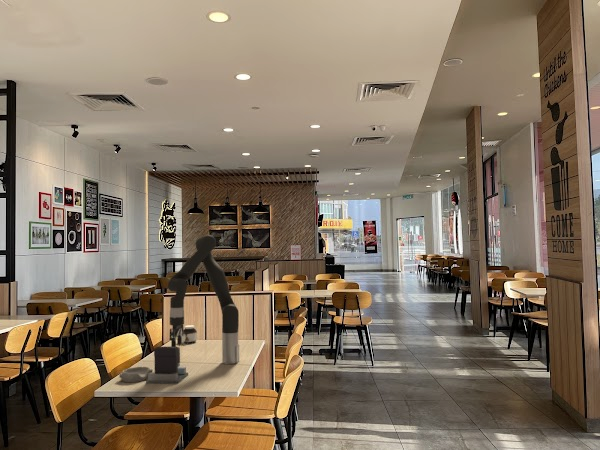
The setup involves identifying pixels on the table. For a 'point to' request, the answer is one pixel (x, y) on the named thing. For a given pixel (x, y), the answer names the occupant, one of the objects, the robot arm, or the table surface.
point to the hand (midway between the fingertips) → (176, 346)
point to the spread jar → (189, 335)
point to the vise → (165, 378)
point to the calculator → (166, 359)
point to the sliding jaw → (180, 369)
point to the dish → (135, 374)
